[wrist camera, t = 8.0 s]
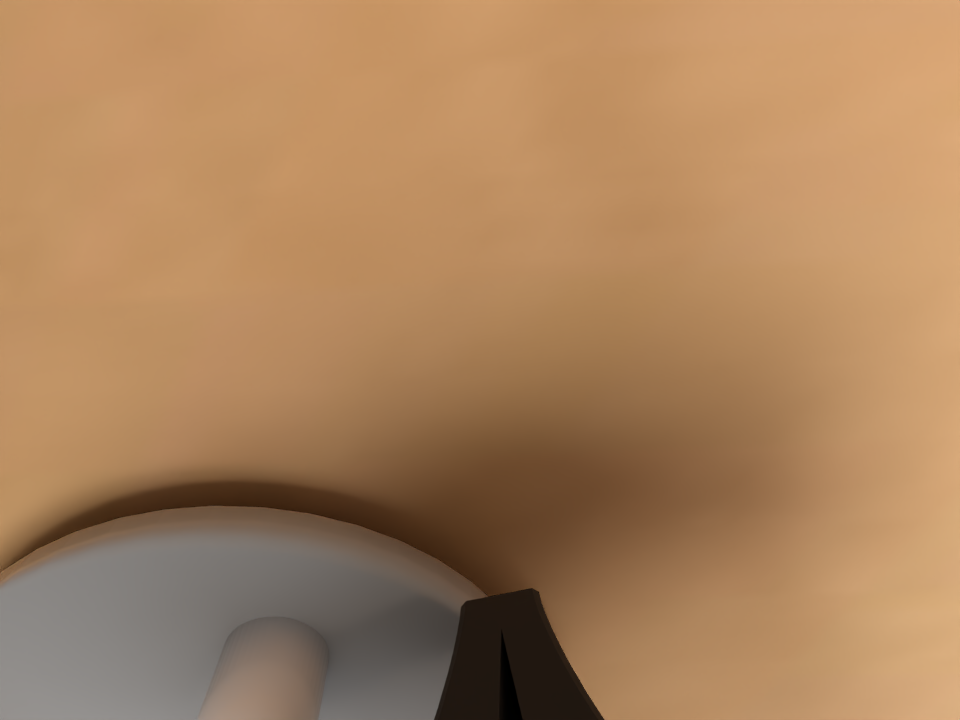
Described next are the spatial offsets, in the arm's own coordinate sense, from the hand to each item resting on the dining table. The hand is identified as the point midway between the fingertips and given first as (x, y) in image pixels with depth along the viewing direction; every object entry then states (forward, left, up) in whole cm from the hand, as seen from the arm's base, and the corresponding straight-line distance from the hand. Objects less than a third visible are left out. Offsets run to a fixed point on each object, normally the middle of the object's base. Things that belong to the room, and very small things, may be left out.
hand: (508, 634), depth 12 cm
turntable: (-7, +4, -3) cm, 8 cm away
